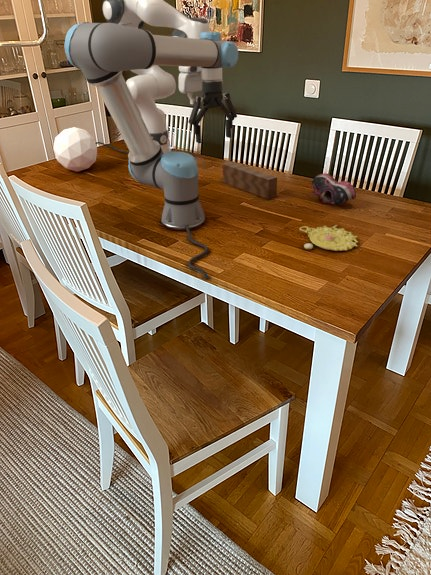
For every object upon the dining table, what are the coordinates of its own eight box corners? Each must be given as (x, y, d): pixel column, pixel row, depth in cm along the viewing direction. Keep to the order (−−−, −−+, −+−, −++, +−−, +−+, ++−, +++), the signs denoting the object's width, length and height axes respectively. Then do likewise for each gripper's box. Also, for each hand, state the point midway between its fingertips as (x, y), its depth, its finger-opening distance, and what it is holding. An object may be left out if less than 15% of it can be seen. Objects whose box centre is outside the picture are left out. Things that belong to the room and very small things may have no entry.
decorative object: (343, 255, 128) (285, 234, 139) (342, 262, 130) (284, 241, 140) (372, 230, 142) (317, 213, 152) (371, 237, 143) (316, 219, 153)
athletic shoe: (320, 172, 177) (296, 180, 173) (357, 167, 157) (330, 175, 153) (326, 200, 180) (302, 208, 176) (363, 198, 160) (336, 207, 156)
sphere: (84, 186, 210) (70, 160, 191) (54, 166, 215) (37, 139, 196) (110, 158, 215) (99, 131, 196) (80, 139, 219) (66, 110, 201)
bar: (276, 196, 174) (277, 177, 170) (268, 199, 172) (268, 179, 168) (231, 179, 193) (230, 161, 188) (222, 182, 190) (222, 163, 186)
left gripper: (215, 62, 183) (216, 98, 190) (175, 67, 172) (177, 104, 180) (225, 63, 179) (226, 100, 186) (184, 68, 168) (186, 106, 176)
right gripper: (235, 76, 169) (235, 133, 181) (176, 82, 159) (181, 142, 170) (246, 78, 164) (245, 136, 175) (186, 85, 153) (190, 147, 165)
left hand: (202, 102), depth 183 cm, fingers open, 8 cm apart
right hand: (213, 139), depth 173 cm, fingers open, 13 cm apart
